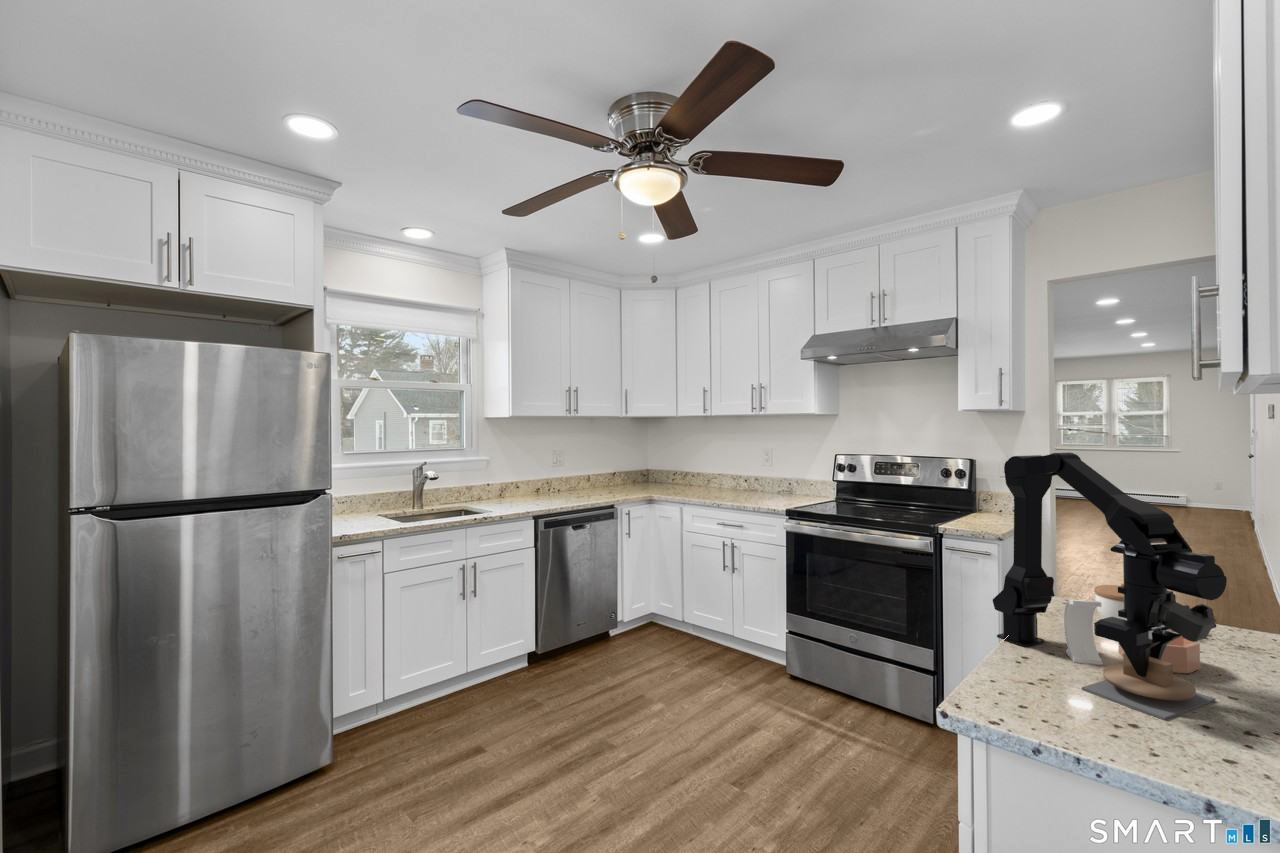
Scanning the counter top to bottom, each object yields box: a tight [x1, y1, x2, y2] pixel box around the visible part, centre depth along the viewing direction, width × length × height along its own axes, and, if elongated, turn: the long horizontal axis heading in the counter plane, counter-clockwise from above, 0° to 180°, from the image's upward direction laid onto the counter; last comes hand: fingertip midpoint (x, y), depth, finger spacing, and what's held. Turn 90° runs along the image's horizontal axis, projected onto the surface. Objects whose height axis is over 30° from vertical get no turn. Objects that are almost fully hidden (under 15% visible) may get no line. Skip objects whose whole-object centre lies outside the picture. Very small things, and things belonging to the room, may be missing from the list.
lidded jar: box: [1094, 583, 1127, 620], centre depth 136 cm, size 11×11×9 cm
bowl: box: [1118, 630, 1201, 674], centre depth 115 cm, size 11×11×5 cm
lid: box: [1102, 653, 1197, 701], centre depth 102 cm, size 12×12×4 cm
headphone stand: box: [1063, 598, 1103, 666], centre depth 118 cm, size 5×6×12 cm
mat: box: [1081, 679, 1216, 721], centre depth 102 cm, size 15×12×1 cm
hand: (1146, 674), depth 102 cm, fingers closed on lid, 2 cm apart
